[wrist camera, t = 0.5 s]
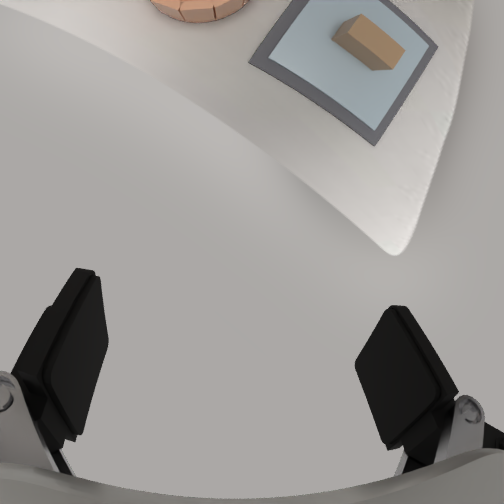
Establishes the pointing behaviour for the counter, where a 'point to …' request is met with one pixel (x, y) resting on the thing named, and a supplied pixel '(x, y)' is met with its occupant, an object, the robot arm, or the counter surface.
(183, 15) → the bowl
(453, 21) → the counter surface
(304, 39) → the sheet
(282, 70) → the mat
